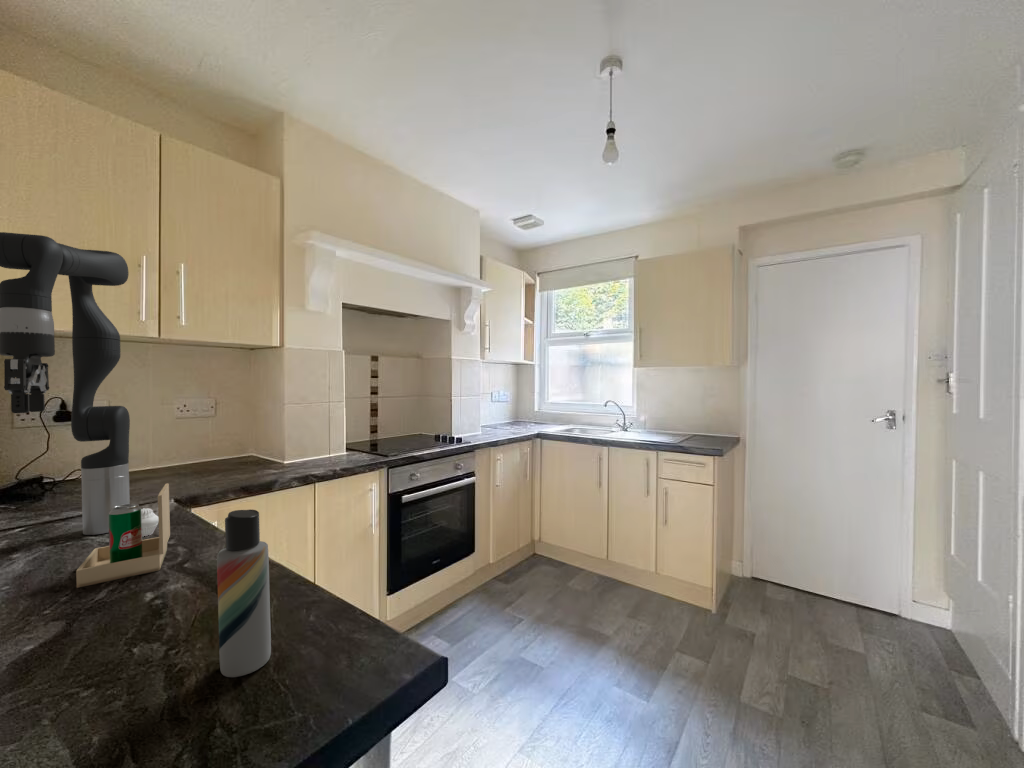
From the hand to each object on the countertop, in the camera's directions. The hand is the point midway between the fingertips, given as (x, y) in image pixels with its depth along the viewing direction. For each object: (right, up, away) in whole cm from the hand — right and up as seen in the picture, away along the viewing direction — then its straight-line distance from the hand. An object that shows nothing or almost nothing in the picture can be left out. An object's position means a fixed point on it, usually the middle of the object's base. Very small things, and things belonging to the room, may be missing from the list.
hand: (29, 412), depth 85 cm
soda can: (+17, -32, +3) cm, 37 cm away
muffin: (+4, -33, +22) cm, 40 cm away
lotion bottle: (+63, -31, -30) cm, 77 cm away
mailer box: (+17, -33, +3) cm, 37 cm away
